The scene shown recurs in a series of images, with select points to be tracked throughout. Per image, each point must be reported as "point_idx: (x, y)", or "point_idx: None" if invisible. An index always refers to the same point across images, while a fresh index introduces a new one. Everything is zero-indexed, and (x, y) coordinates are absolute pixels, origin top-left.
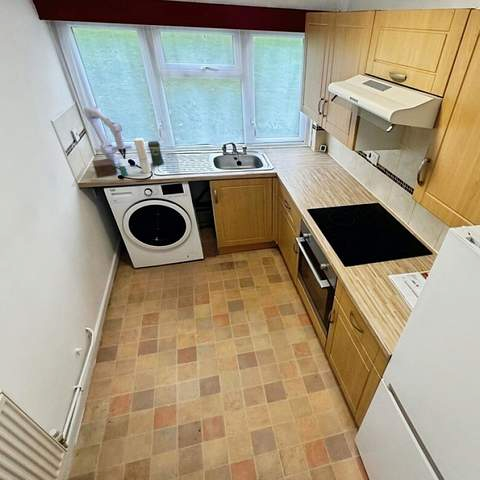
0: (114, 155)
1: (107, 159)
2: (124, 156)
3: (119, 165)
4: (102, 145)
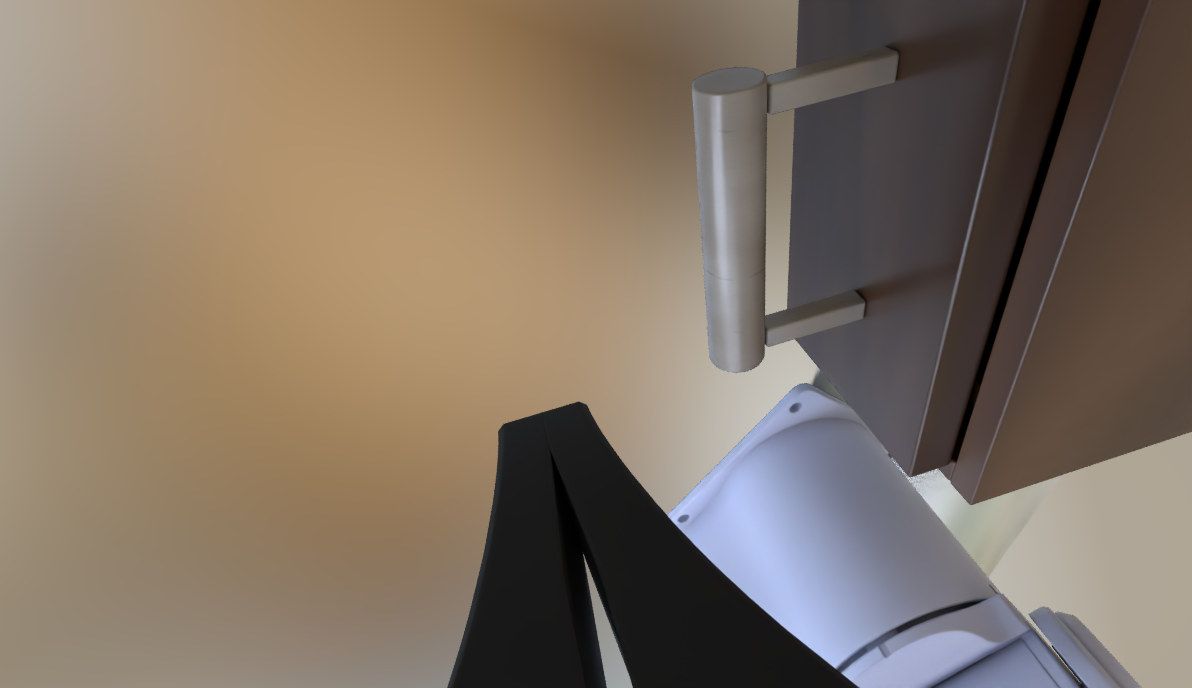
0: (832, 661)
1: (1088, 431)
2: (541, 508)
3: (756, 122)
4: None
